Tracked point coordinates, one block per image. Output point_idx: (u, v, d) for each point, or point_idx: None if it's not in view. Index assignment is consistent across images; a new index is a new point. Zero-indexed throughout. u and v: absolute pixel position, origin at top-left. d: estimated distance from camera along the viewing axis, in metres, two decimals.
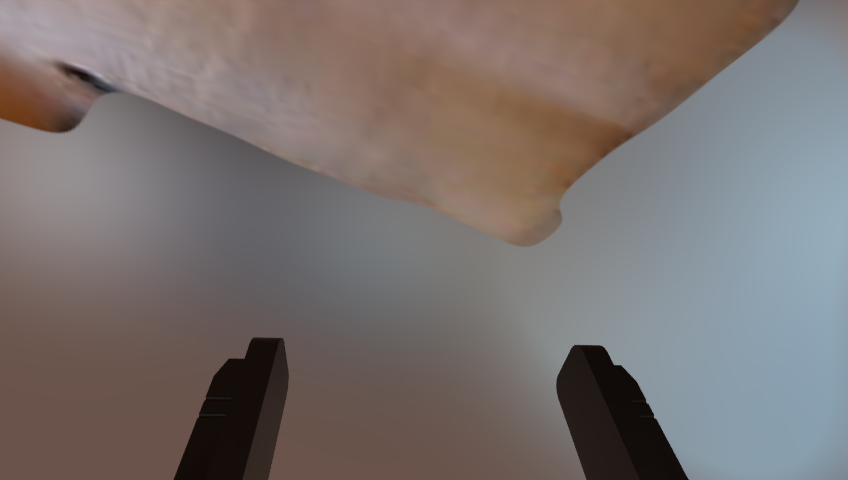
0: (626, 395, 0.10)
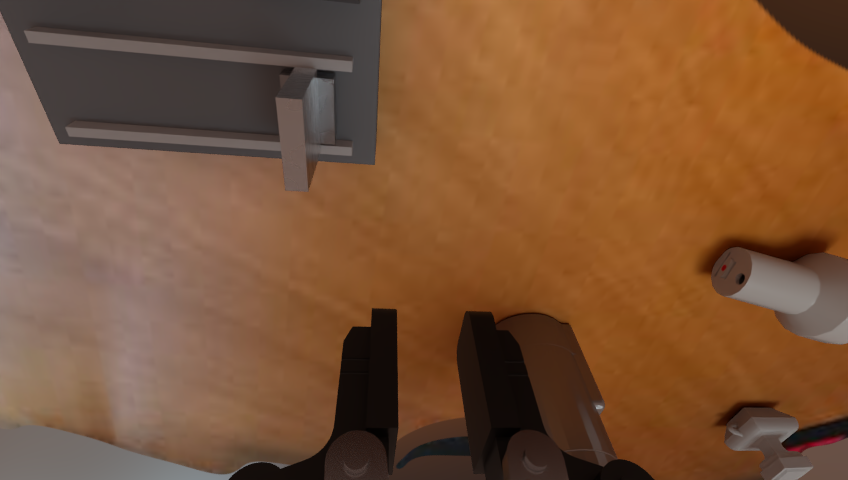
0: (500, 354, 0.11)
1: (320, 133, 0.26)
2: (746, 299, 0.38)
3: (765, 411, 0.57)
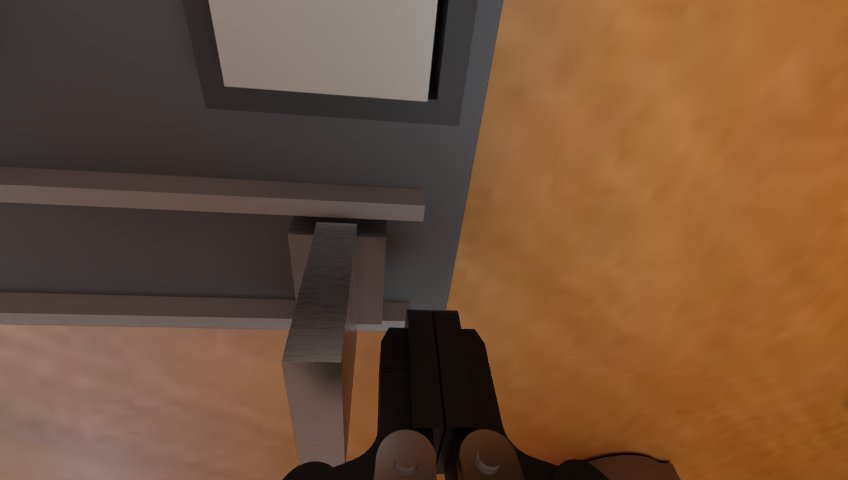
0: (462, 353, 0.11)
1: (358, 312, 0.15)
2: None
3: None
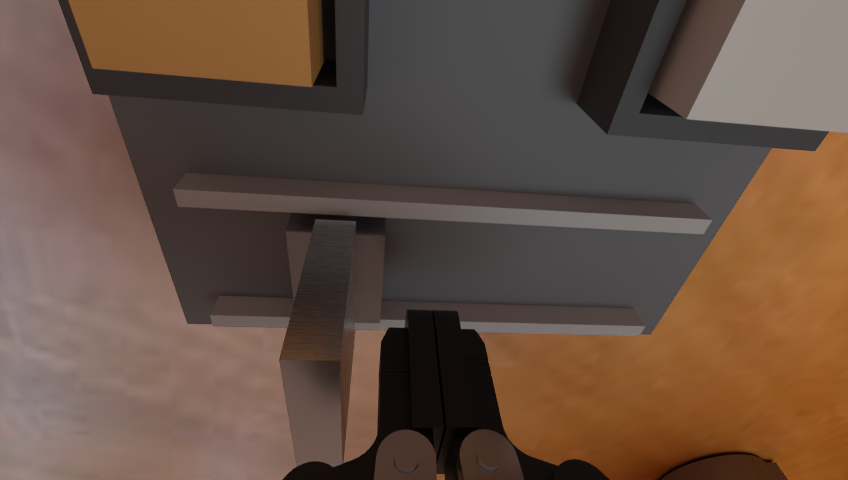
0: (462, 353, 0.11)
1: (356, 310, 0.15)
2: None
3: None
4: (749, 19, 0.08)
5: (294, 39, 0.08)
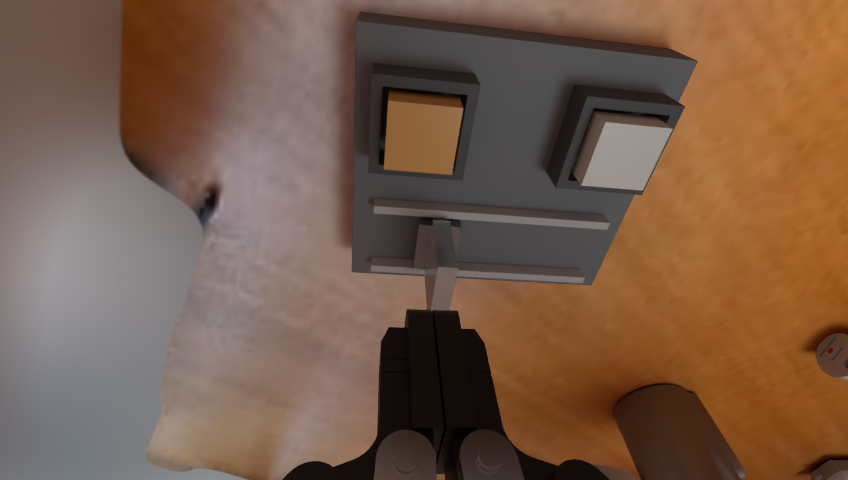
0: (462, 353, 0.11)
1: None
2: None
3: None
4: (597, 155, 0.24)
5: (449, 161, 0.24)
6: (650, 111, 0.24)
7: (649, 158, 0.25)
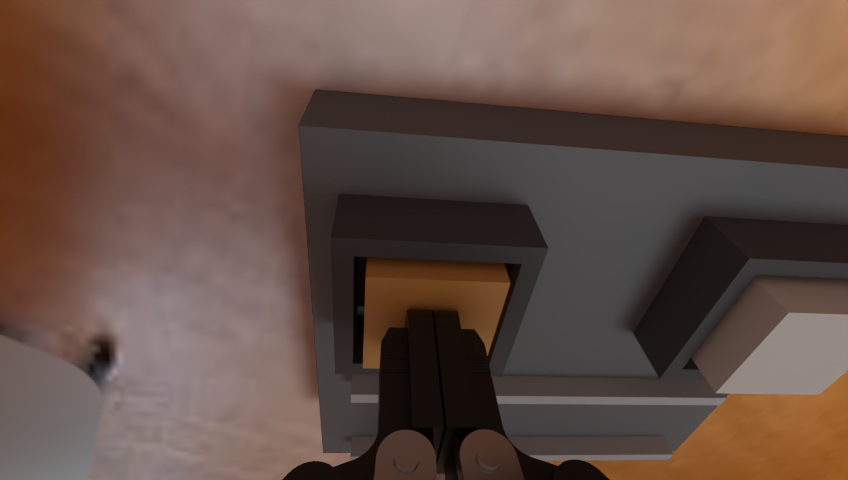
0: (462, 353, 0.11)
1: None
2: None
3: None
4: (756, 356, 0.13)
5: None
6: None
7: None
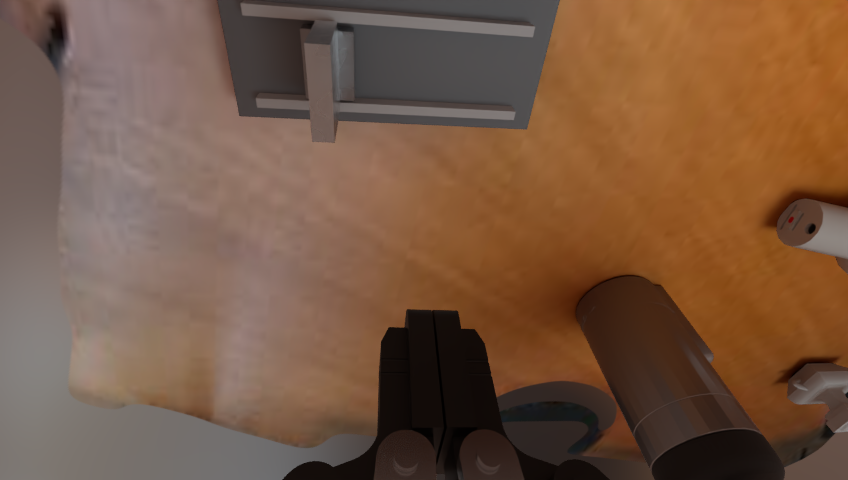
0: (462, 353, 0.11)
1: (340, 89, 0.26)
2: (816, 248, 0.40)
3: (828, 366, 0.60)
4: None
5: None
6: None
7: None
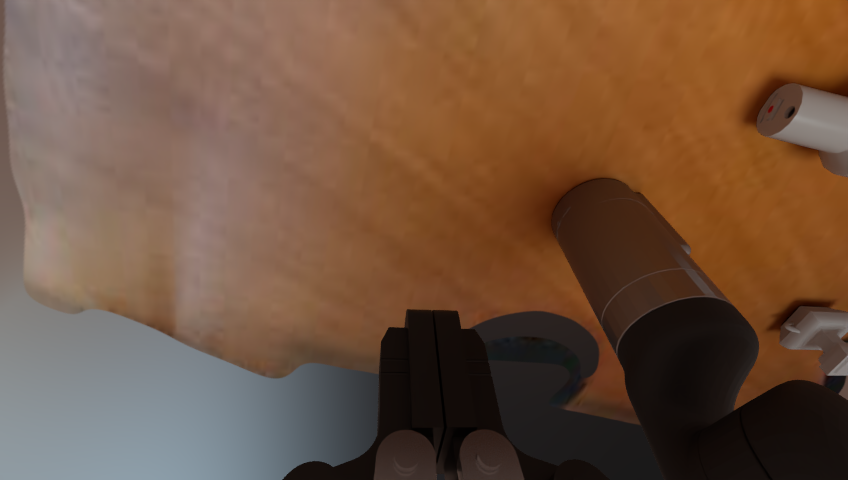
0: (462, 353, 0.11)
1: None
2: (796, 135, 0.37)
3: (822, 309, 0.57)
4: None
5: None
6: None
7: None
